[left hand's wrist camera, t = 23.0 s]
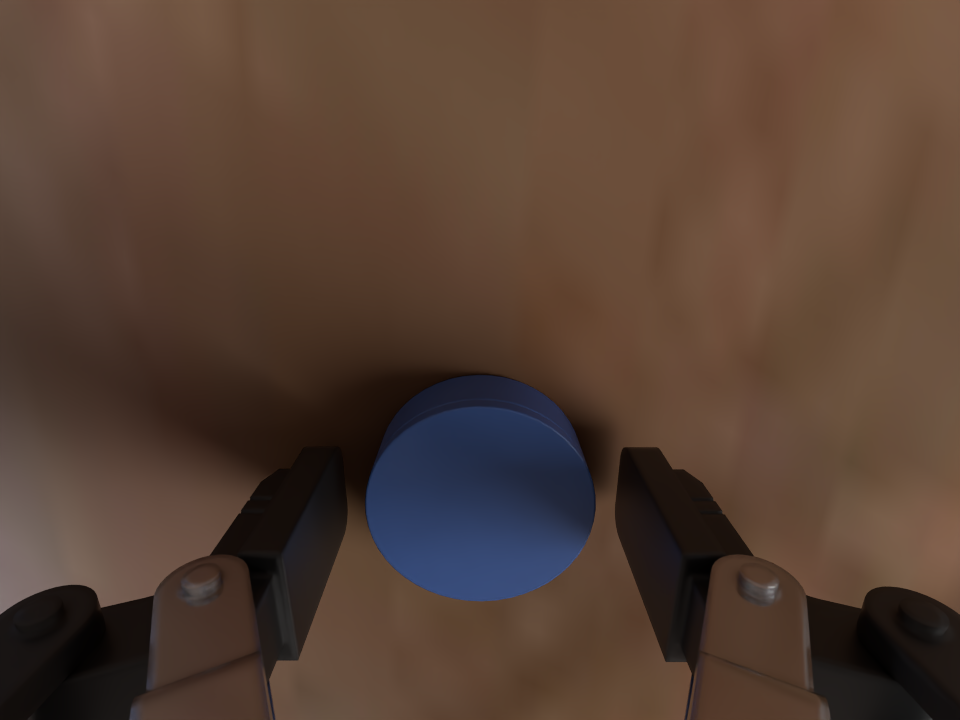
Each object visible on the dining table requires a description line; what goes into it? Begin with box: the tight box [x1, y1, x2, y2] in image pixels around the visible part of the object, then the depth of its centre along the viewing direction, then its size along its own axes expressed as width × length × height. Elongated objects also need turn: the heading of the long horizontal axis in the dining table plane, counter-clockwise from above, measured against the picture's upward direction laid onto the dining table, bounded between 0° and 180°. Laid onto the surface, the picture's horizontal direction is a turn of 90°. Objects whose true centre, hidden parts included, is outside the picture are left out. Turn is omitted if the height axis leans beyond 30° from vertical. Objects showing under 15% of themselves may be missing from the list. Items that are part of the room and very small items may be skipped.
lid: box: [365, 375, 596, 601], centre depth 12 cm, size 5×5×2 cm
